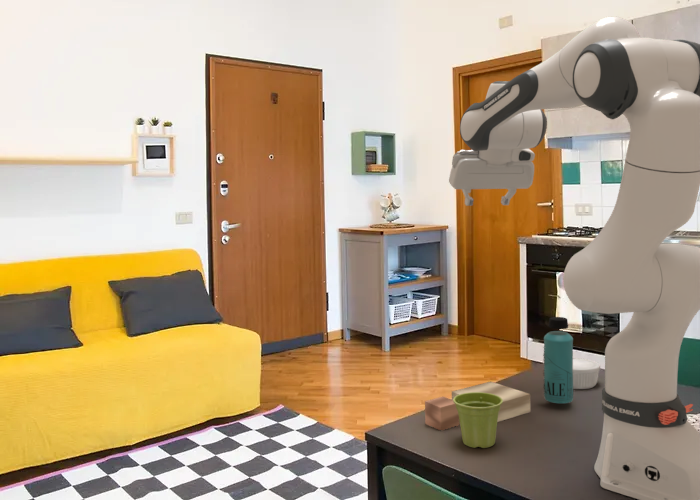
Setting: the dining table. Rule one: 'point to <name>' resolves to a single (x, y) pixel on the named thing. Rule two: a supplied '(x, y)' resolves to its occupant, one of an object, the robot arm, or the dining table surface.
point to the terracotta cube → (441, 413)
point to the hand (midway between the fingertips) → (486, 204)
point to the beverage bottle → (558, 363)
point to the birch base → (512, 398)
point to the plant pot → (478, 417)
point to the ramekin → (585, 373)
